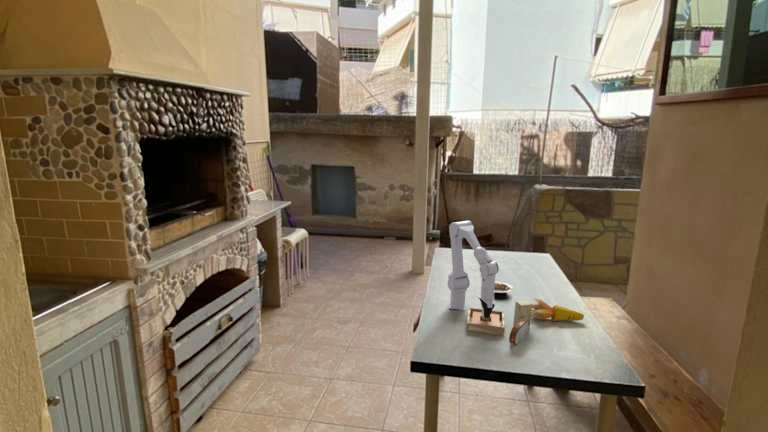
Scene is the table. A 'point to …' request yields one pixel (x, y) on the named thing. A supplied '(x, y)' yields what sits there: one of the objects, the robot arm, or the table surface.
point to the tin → (518, 331)
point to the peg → (484, 317)
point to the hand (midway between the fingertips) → (486, 315)
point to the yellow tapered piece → (554, 312)
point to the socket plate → (492, 321)
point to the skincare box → (523, 311)
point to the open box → (483, 327)
